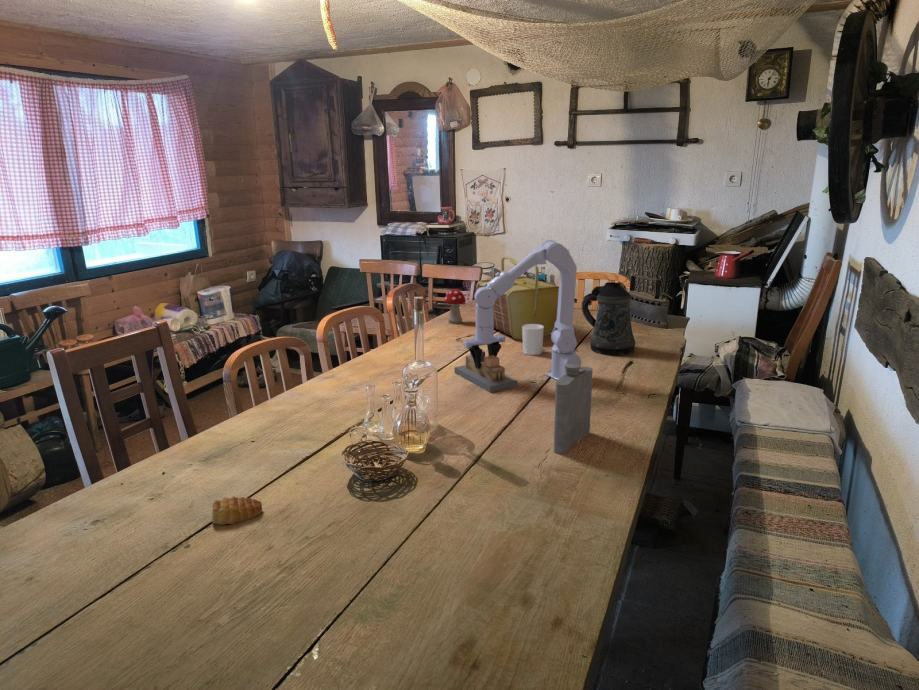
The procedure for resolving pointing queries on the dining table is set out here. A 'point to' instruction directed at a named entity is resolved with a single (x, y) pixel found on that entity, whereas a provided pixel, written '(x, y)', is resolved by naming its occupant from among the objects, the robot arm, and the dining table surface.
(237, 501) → the pastry
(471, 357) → the blue-grey square block
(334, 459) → the dining table surface
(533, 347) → the white cup
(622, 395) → the dining table surface
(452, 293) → the decorative mushroom
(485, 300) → the robot arm
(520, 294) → the picnic basket
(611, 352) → the beer stein
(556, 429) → the hip flask
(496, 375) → the brown notched bar
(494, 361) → the pink square block
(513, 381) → the dock
